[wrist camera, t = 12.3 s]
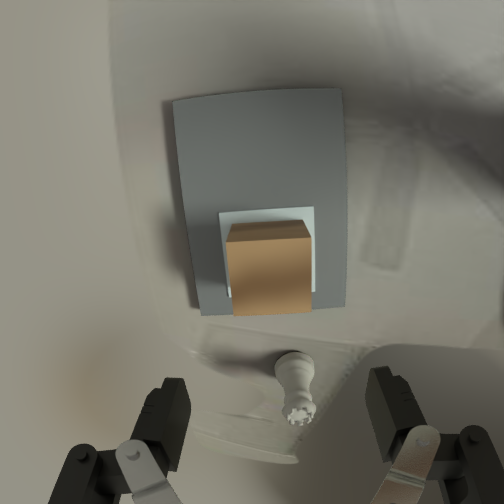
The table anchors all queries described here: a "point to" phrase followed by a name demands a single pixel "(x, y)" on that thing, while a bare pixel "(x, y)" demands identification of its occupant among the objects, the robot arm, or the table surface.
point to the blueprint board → (263, 181)
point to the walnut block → (270, 267)
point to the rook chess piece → (296, 386)
